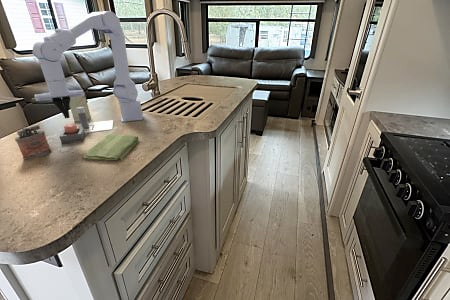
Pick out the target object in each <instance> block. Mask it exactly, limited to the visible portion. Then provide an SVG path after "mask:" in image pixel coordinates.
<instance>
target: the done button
mask: <svg viewBox="0 0 450 300" xmlns="http://www.w3.org/2000/svg"><path fill="white" fill-rule="evenodd" d="M76 124H77V123H76ZM76 124H75V123H70V124H69V123H68V124H65V125H63V128H64V129H63V130H65V132H66V133H67V134H72V133H76V132H77V131H78V129H77V126H76Z"/></svg>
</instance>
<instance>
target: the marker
mask: <svg viewBox="0 0 450 300" xmlns="http://www.w3.org/2000/svg"><path fill="white" fill-rule="evenodd" d="M76 109H77V113H78V116H79V119H80V123H79V124H81V126H82V128H83V127H84V129H89V124H88V123H89V121H88V119H87V117H86V113H85V109H84V107H77V108H76Z"/></svg>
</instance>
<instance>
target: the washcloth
mask: <svg viewBox="0 0 450 300" xmlns="http://www.w3.org/2000/svg"><path fill="white" fill-rule="evenodd" d="M139 138H140V137H139V136H138V135H134V134H133V135H125V134H124V135H122V134H116V133H115V134H114V133H113V134H112V133H108V134H106V136H105V137H103V138H102V139H101V140H99V141H98V142H97V143H96V144H95V145H93V146H92V147H91V148H90V149H88V150H87V151H86V153H84V155H83V156H82V159H83V160H86V161H90V160H93V161H97V160H98V161H117V160H118V161H122V160H124V158H126V156H127V155H128V154H129V153H130V152H131V150H132V149H133V148H134V147H135V145H136V144H138V142H139Z"/></svg>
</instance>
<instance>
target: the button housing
mask: <svg viewBox="0 0 450 300" xmlns="http://www.w3.org/2000/svg"><path fill="white" fill-rule="evenodd" d="M77 129H78V131H77V132H76V133H72V134H67V133H66V132H65V129H63V130H62V131H61V133H60V134H59V140H60V143H61V144H62V145H63V144H71V143H78V142H79V143H80V142H83V141H84V139H85V137H86V133H85V131H84V127H83V128H77Z"/></svg>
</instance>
